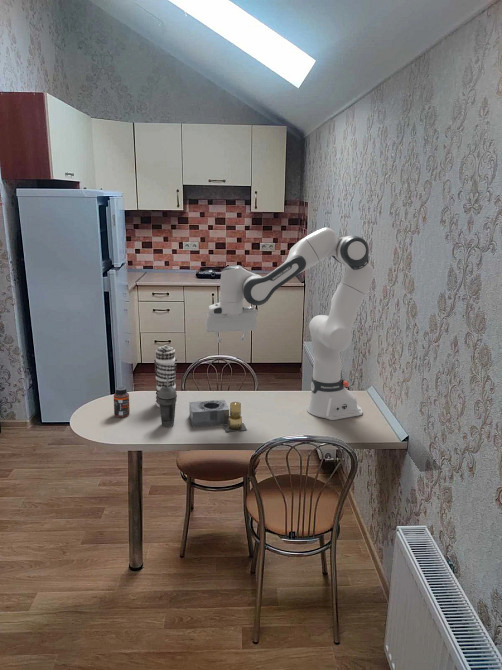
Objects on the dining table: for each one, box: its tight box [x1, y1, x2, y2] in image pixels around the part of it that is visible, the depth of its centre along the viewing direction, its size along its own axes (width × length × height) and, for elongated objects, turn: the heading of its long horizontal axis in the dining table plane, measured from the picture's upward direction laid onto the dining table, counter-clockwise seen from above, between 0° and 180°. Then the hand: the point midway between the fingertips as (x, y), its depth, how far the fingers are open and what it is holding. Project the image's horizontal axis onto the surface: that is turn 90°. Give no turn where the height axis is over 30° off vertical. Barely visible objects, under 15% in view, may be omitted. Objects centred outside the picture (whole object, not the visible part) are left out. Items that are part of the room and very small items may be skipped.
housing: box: [188, 399, 230, 428], centre depth 203 cm, size 14×10×6 cm
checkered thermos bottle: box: [153, 344, 178, 408], centre depth 215 cm, size 9×9×25 cm
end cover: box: [229, 401, 243, 430], centre depth 196 cm, size 5×5×10 cm
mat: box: [222, 422, 248, 433], centre depth 197 cm, size 8×6×1 cm
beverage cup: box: [158, 376, 178, 428], centre depth 197 cm, size 7×7×20 cm
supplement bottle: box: [113, 386, 131, 419], centre depth 205 cm, size 6×6×11 cm
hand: (230, 341), depth 206 cm, fingers open, 8 cm apart
